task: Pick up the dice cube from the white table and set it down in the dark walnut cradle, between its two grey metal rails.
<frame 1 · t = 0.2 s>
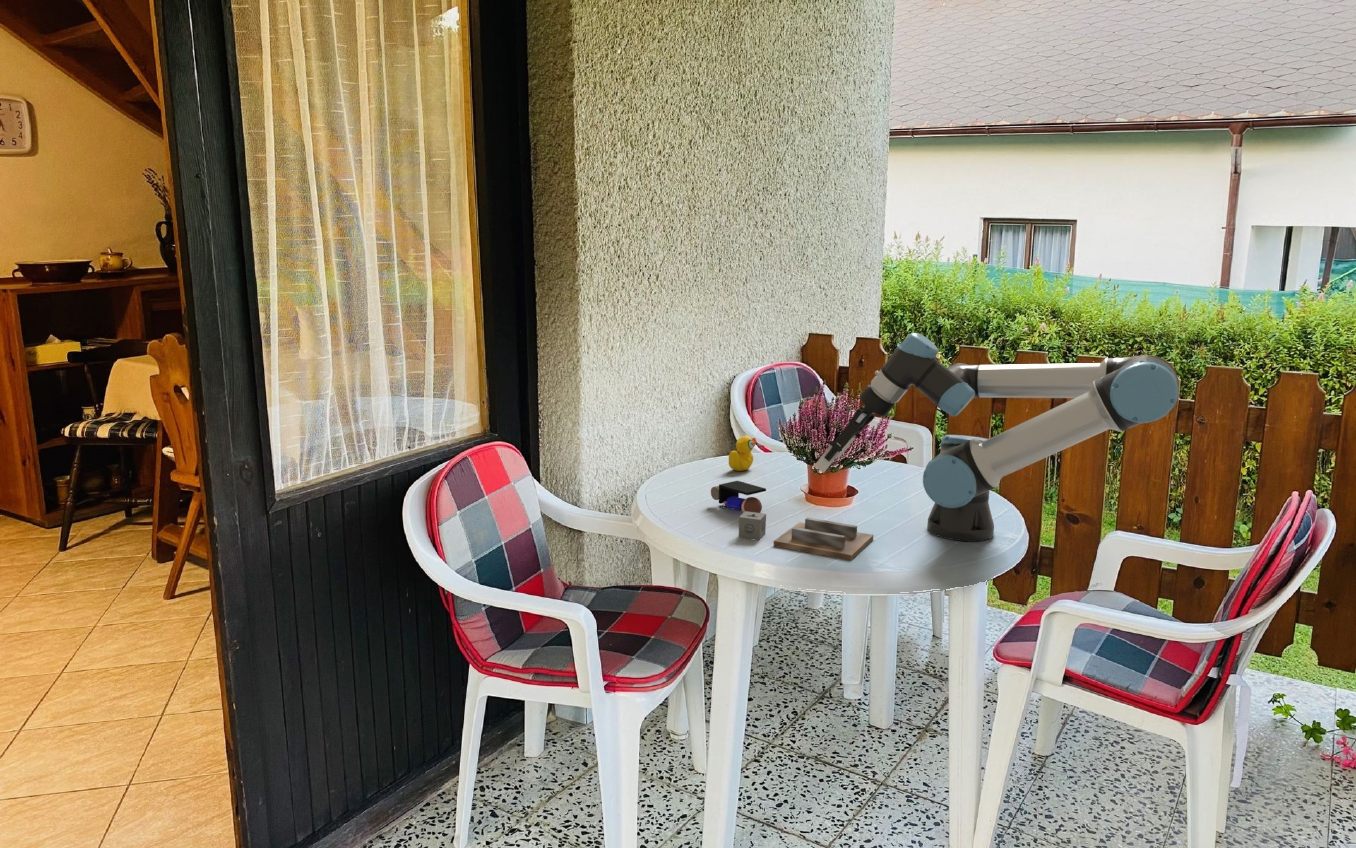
hand: (827, 461, 221), 16 cm above the table, tool tilted 35°, fingers open, 13 cm apart
duckling: (741, 470, 275), on the table
dice cube: (751, 537, 216), on the table
cradle: (823, 542, 212), on the table
figurine character: (737, 512, 235), on the table
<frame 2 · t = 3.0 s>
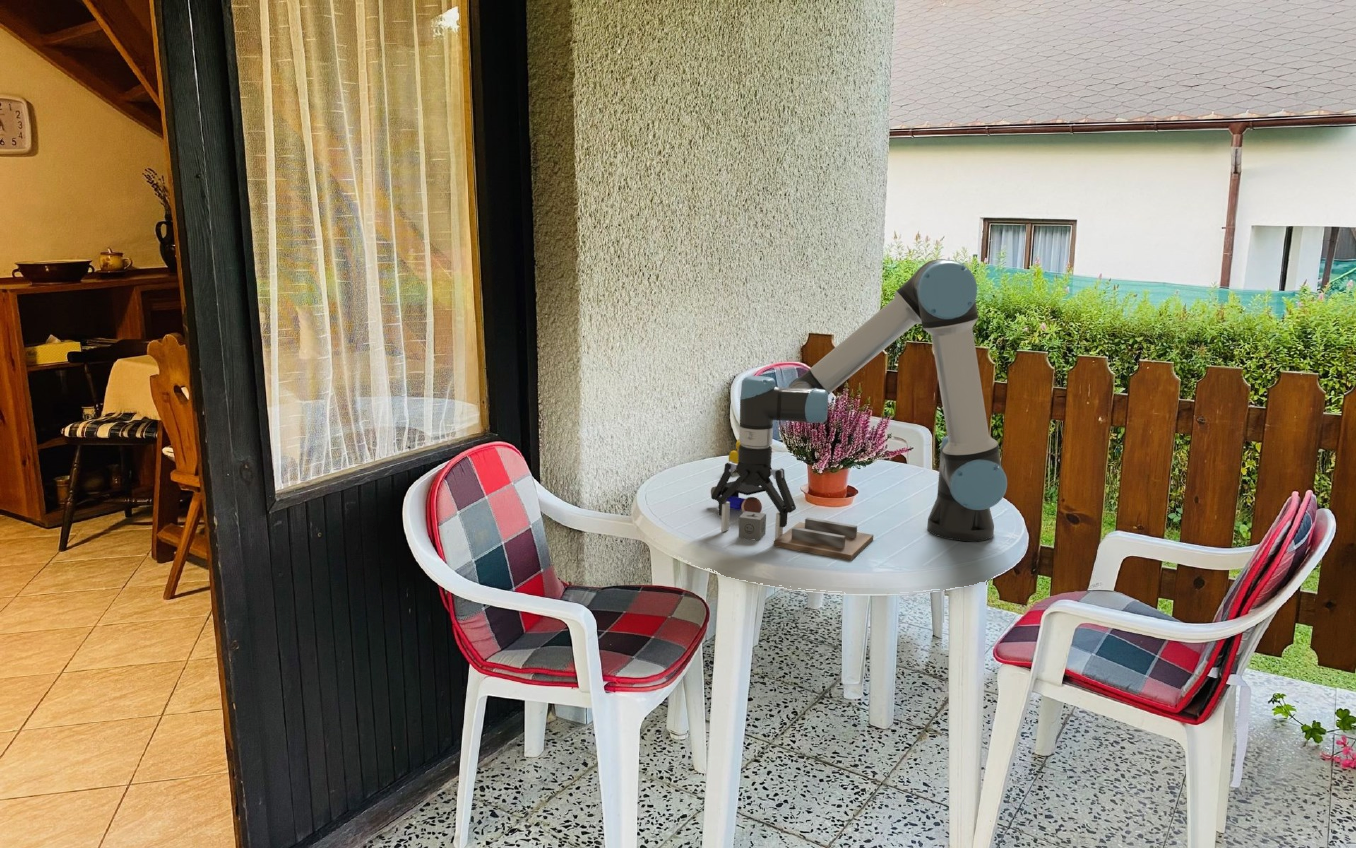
hand: (751, 535, 216), 0 cm above the table, tool pointing down, fingers open, 13 cm apart
nothing on the table moved.
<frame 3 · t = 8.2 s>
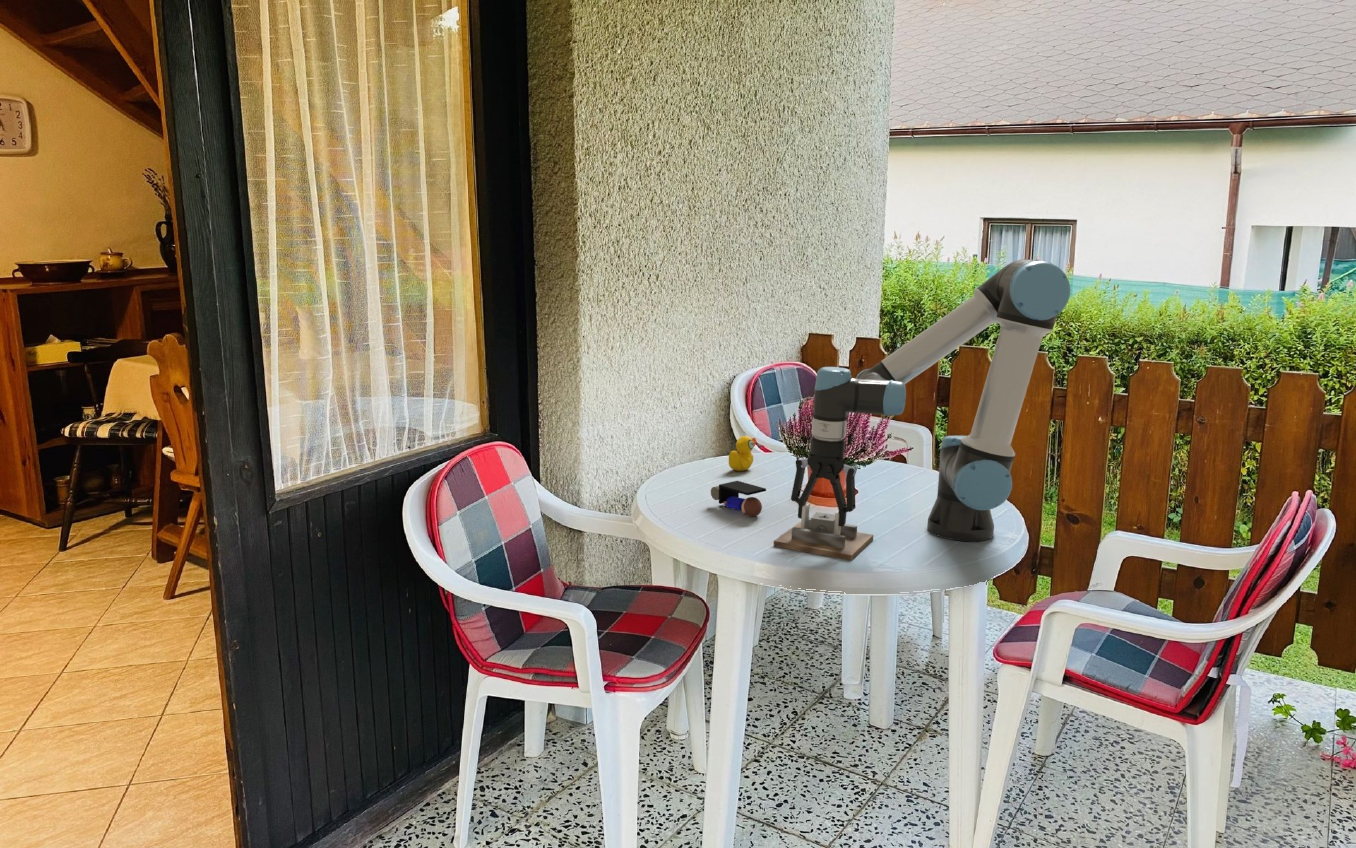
hand: (820, 535, 212), 2 cm above the table, tool pointing down, fingers open, 7 cm apart
dice cube: (823, 538, 212), point 1 cm above the table, touching cradle
everything else where it was.
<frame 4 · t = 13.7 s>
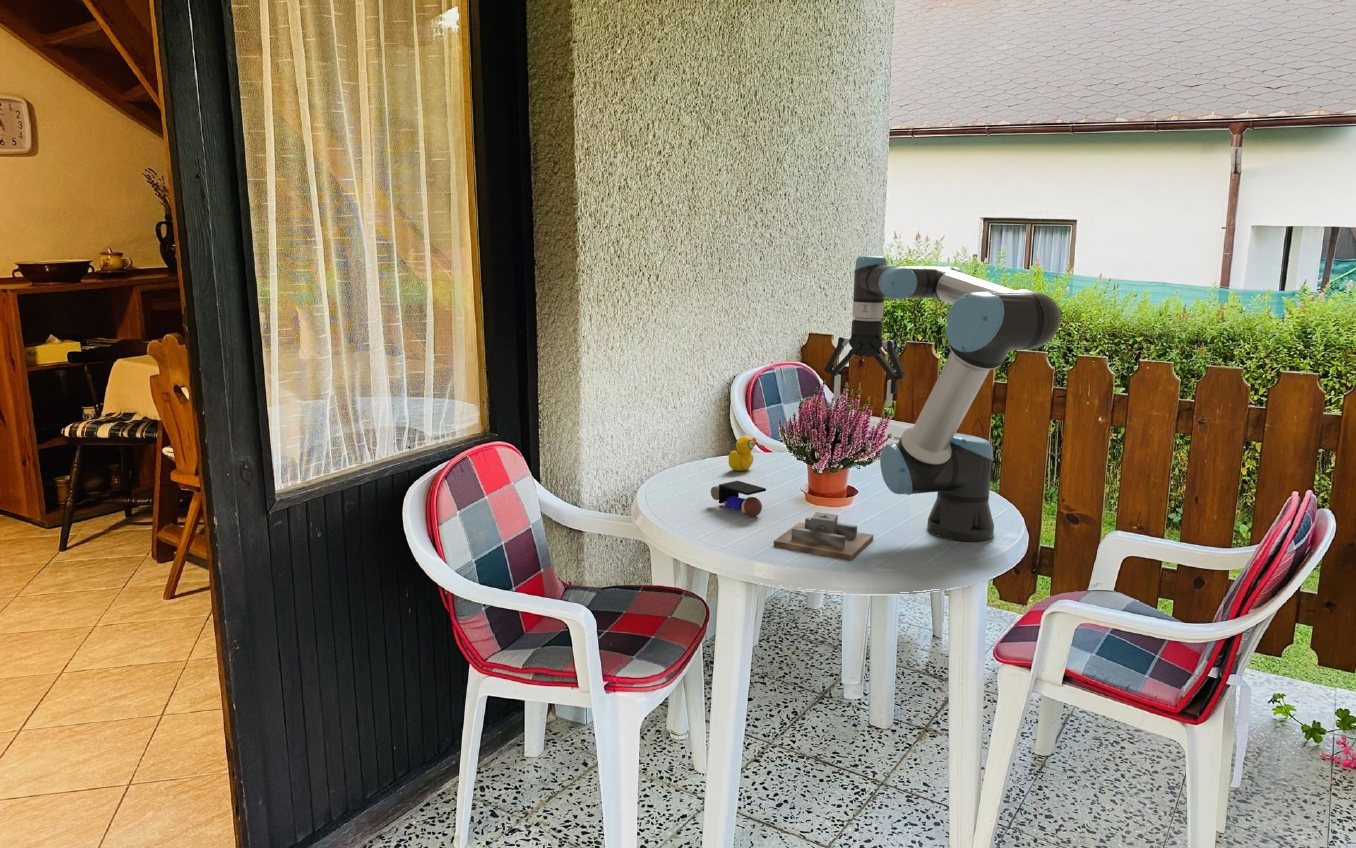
hand: (862, 403, 237), 27 cm above the table, tool pointing down, fingers open, 13 cm apart
nothing on the table moved.
at the end: dice cube 0.2 cm off-centre on the cradle, point 1.0 cm above the cradle's base; dice cube touching cradle; the gripper is holding nothing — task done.
